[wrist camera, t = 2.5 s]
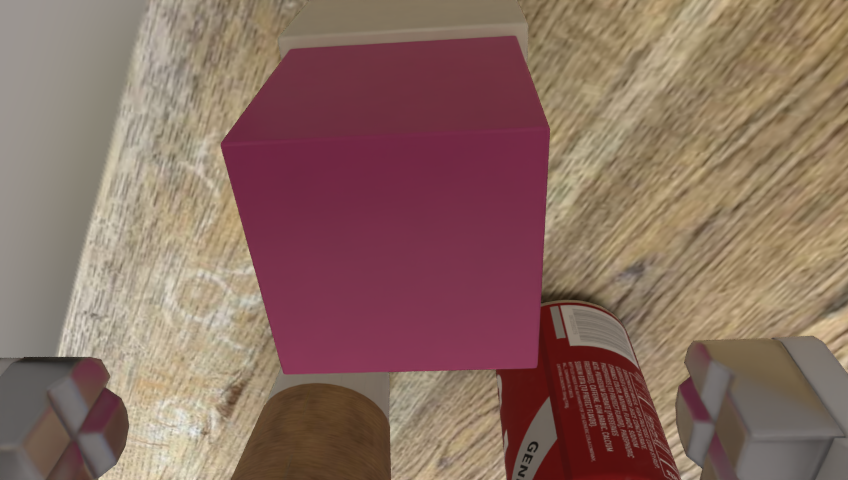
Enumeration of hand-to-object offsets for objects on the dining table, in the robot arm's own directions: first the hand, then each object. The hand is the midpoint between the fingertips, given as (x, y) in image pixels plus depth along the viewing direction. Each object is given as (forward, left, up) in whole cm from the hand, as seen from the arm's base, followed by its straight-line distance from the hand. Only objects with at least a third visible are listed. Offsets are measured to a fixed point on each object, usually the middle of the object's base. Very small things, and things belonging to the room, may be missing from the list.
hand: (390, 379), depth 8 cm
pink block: (0, 0, -7) cm, 7 cm away
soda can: (+16, +6, -18) cm, 24 cm away
